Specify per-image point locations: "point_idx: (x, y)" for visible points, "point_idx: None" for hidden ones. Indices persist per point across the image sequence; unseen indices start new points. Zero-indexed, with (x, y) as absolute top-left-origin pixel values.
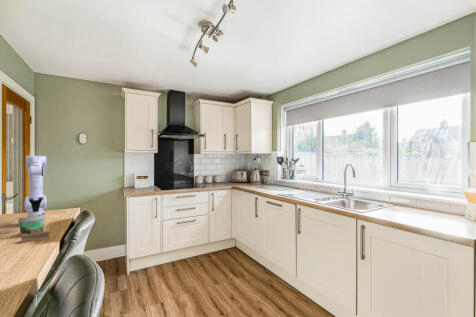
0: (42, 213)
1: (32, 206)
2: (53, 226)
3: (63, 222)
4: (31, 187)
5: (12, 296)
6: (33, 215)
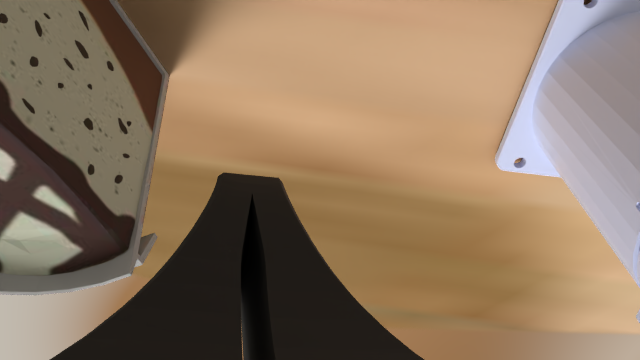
0: (123, 266)
1: (166, 266)
2: (308, 214)
3: (418, 305)
4: None
5: None
6: (625, 143)
